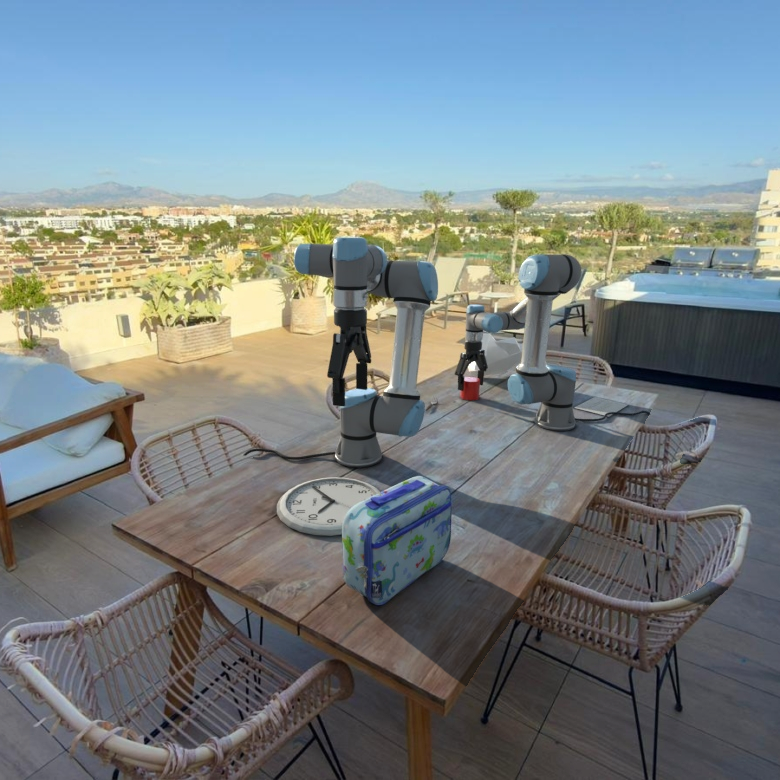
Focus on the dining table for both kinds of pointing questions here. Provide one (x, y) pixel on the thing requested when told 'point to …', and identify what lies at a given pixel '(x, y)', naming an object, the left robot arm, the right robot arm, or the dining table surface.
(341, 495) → the wall clock
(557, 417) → the right robot arm
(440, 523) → the lunch box
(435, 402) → the fork
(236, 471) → the dining table surface
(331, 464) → the dining table surface
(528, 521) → the dining table surface
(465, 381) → the canister
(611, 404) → the invitation card
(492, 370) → the white plastic object
